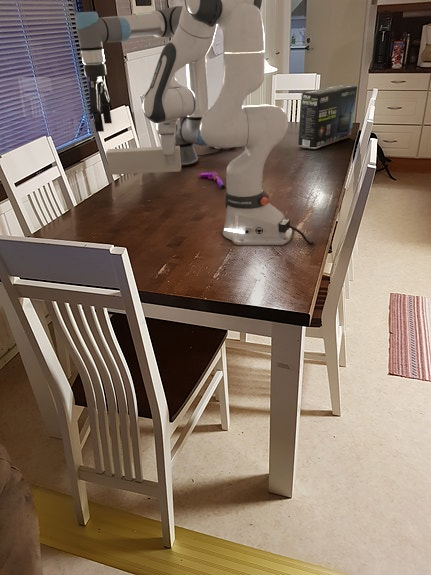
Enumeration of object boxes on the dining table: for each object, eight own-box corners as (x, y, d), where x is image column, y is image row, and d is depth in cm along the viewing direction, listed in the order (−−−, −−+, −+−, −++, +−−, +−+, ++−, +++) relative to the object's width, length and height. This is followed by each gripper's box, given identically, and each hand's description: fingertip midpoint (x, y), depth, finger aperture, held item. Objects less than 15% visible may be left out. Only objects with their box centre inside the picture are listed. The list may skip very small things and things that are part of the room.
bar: (181, 167, 177) (179, 145, 173) (180, 171, 172) (179, 149, 168) (111, 170, 177) (108, 149, 172) (109, 174, 172) (105, 152, 168)
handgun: (199, 176, 203) (199, 172, 202) (216, 174, 204) (216, 170, 203) (207, 191, 185) (207, 186, 184) (226, 189, 186) (225, 184, 185)
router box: (314, 151, 231) (318, 94, 217) (296, 148, 237) (299, 92, 224) (352, 138, 251) (358, 85, 238) (335, 135, 258) (340, 83, 245)
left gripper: (92, 60, 169) (101, 120, 180) (73, 68, 148) (85, 135, 159) (112, 59, 169) (120, 119, 180) (96, 67, 148) (107, 134, 159)
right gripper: (161, 119, 175) (164, 155, 182) (157, 130, 157) (161, 170, 164) (177, 118, 175) (180, 154, 182) (175, 129, 157) (178, 169, 164)
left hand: (104, 127), depth 170 cm, fingers open, 13 cm apart
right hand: (171, 162), depth 173 cm, fingers closed on bar, 5 cm apart
